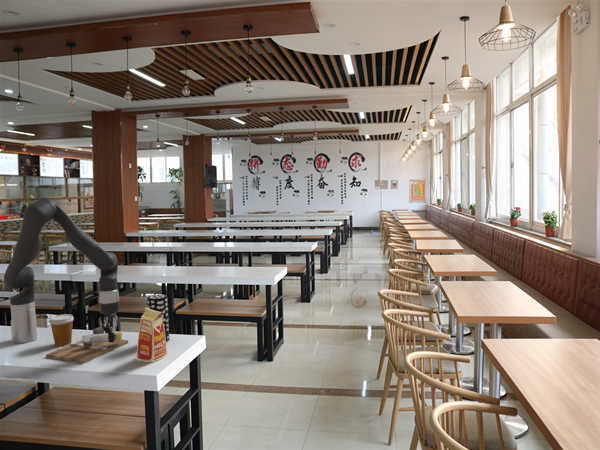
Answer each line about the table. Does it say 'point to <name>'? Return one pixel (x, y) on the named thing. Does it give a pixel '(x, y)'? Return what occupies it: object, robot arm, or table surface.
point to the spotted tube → (160, 309)
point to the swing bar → (99, 338)
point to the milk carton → (151, 337)
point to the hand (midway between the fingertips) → (111, 341)
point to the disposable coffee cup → (62, 329)
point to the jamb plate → (85, 349)
